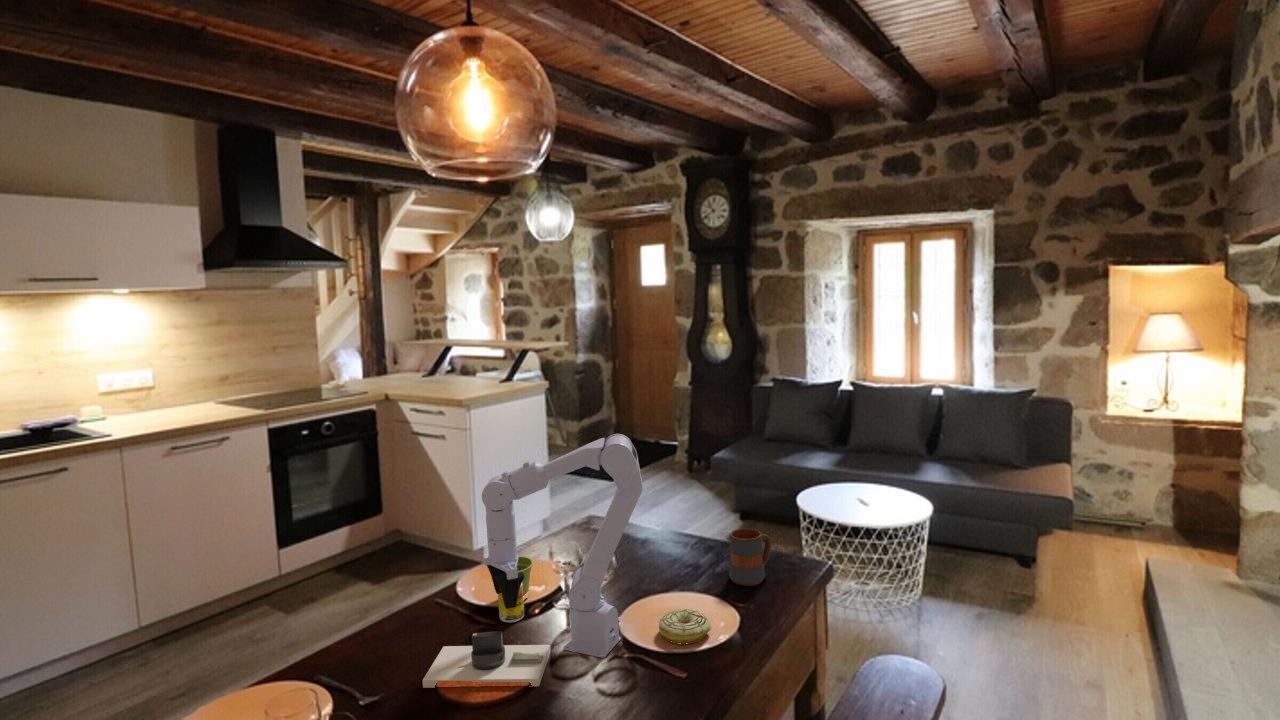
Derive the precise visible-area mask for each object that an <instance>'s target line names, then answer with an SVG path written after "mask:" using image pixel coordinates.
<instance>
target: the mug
mask: <svg viewBox="0 0 1280 720" xmlns="http://www.w3.org/2000/svg"><path fill="white" fill-rule="evenodd" d="M763 541H764V547H763ZM771 545H772V541H771V538H770V536H769V535H768V534H766V533H763V534H762V533H761V532H760V531H759V530H757V529H753V528H738V529H734V530H732V531H731V532H730V533H729V552H730V560H729V564H728V565H729V566H728V567H729V569H728V571H729V572H728V574H729V578H730V579H731V581H732V583H734V584H736V585H738V586H743V587H753V586H754V587H755V586H758V585H760V584H761V583H762V582H763V580H764V579H765V575H766V574H765V573H766V572H765V566H766V564H767V563H768V561H769V558H770V553H771V547H772V546H771Z"/></svg>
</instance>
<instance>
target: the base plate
mask: <svg viewBox="0 0 1280 720" xmlns="http://www.w3.org/2000/svg"><path fill="white" fill-rule="evenodd" d="M503 646H504V647H505V661H504V663H503V664H502V665H500V666H499V667H496V668H494V669H490V670H479V669H476V668H474V667H473V666H472V657H471V652H472V651H473V649H472V645H454V646H453V645H448V646H447V645H446V646H445V645H444V646H442V648H441V650H440V652H439V653H438V655H437V656H436V658H435V659H434V660H433V663H432V664H431V666H430V668H429V669H428V671H427V672H426V674H425V676H424V677H423V679H422V688H423V689H424V688H425V689H428V688H429V689H431V688H433V689H434V688H435V685H436V683H437V682H438V681H472V682H479V681H480V682H481V681H482V682H530V683H531V685H532V686H531V687H540V685H541V681H542V678H543V675H544V672H545V670H546V667H547V663H548V660H549V658H550V654H551V645H550V644H525V645H524V644H517V645H516V644H507V645H504V644H503Z"/></svg>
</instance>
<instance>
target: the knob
mask: <svg viewBox="0 0 1280 720" xmlns="http://www.w3.org/2000/svg"><path fill="white" fill-rule="evenodd" d="M471 644H472V645H471V646H472V649H473V651H472V652H471V657H472V666H473V667H474V668H476V669H479V670H490V669H494V668H496V667H499V666H500V665H502V664H503V663H504V661H505V647H504V646H503V645H504V641H503V631H502V630H494V631H485V632H483V631H482V632H473V633H472V635H471Z"/></svg>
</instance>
